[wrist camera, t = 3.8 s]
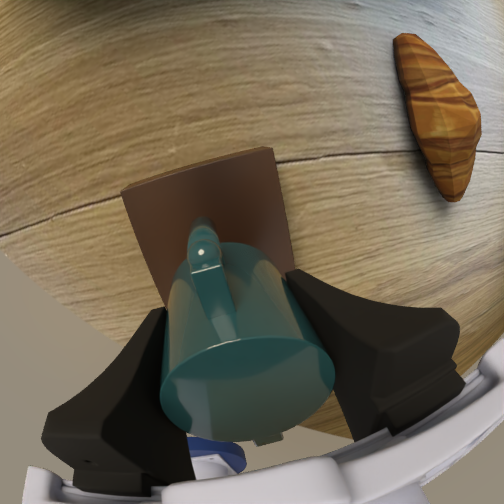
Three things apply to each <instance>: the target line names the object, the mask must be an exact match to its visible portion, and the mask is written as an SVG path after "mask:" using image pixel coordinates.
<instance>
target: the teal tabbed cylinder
mask: <svg viewBox="0 0 504 504" xmlns="http://www.w3.org/2000/svg"><path fill="white" fill-rule="evenodd" d="M335 377H336V372H335V366H334V363H333V361H332V359H331V357H330V355H329V354H328V352H327V350H326V348H325V347H324V345H323V343H322V342H321V340H320V338H319V336H318V335H317V333H316V331H315V330H314V328H313V326H312V325H311V323H310V321H309V319H308V318H307V316H306V314H305V313H304V311H303V309H302V308H301V306H300V304H299V302H298V301H297V299H296V297H295V296H294V294H293V292H292V291H291V289H290V287H289V286H288V284H287V282H286V281H285V279H284V277H283V276H282V274H281V272H280V270H279V269H278V267H277V266H276V264H275V263H274V261H273V260H272V259H271V258H270V257H269V256H268V255H266V254H265V253H264V252H262V251H261V250H259V249H257V248H255V247H252V246H250V245H246V244H242V243H236V242H225V243H220V241H219V237H218V232H217V228H216V225H215V223H214V221H213V220H212V219H210V218H208V217H204V216H201V217H198V218H196V219H194V220H193V221H192V222H191V224H190V226H189V234H188V246H187V258H186V259H185V260H184V261H183V262H182V263H181V265H180V266H179V267H178V269H177V270H176V272H175V274H174V276H173V278H172V282H171V285H170V293H169V300H168V308H167V316H166V325H165V334H164V344H163V354H162V366H161V380H160V404H161V407H162V409H163V411H164V413H165V415H166V416H167V418H168V419H169V420H170V421H171V422H172V423H173V424H174V425H176V426H177V427H178V428H180V429H181V430H183V431H185V432H187V433H189V434H191V435H194V436H197V437H200V438H203V439H208V440H213V441H221V442H241V441H251V440H253V442H254V443H255V445H256V446H262V445H266V444H270V443H274V442H277V441H281V440H283V435H282V432H284V431H286V430H289V429H291V428H293V427H295V426H296V425H298V424H300V423H302V422H303V421H305V420H306V419H308V418H309V417H310V416H312V415H313V414H314V413H315V412H316V411H317V410H318V409H319V408H320V407H321V406H322V405H323V404H324V403H325V402H326V400H327V399H328V397H329V396H330V394H331V392H332V390H333V387H334V384H335Z"/></svg>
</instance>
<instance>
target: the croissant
mask: <svg viewBox="0 0 504 504" xmlns="http://www.w3.org/2000/svg"><path fill="white" fill-rule="evenodd" d="M393 47H394V58H395V62H396V67H397V72H398V77H399V82H400V84H401V86H402V88H403V90H404V92H405V99H406V107H407V111H408V117H409V122H410V127H411V130H412V132H413V134H414V136H415V138H416V141H417V143H418V145H419V147H420V149H421V151H422V153H423V154H424V156H425V159H426V164H427V169H428V171H429V173H430V175H431V177H432V179H433V181H434V184H435V186H436V187H437V189H438V190H439V192H440V194H441V195H442V197H443V198H444V199H445V200H446V201H448V202H457V201H460V199H461V198H462V197H463V195H464V193H465V191H466V188H467V186H468V184H469V182H470V178H471V174H472V170H473V165H474V161H475V154H476V146H477V144H478V142H479V139H480V137H481V135H482V133H481V114H480V111H479V109H478V107H477V105H476V102H475V100H474V98H473V96H472V94H471V92H470V91H469V90H467V89H466V88H465V87H464V86H463V85H462V84H461V83H460V82H459V81H458V79H457V77H456V76H455V75H454V73H453V72H452V70H451V69H450V68H449V67H448V65H447V64H446V63H445V62H444V61H443V59H442V58H441V57H440V56H439V55H438V54H437V53H436V51H435V50H434V49H433V48H432V47H430V46H429V45H428V44H427V43H426V42H424V41H423V40H422V39H421V38H420V37H418V36H417V35H416V34H410V33H401V34H400V35H398V36H397V37H396V38H394V39H393Z"/></svg>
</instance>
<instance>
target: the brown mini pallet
mask: <svg viewBox="0 0 504 504" xmlns="http://www.w3.org/2000/svg"><path fill="white" fill-rule="evenodd" d="M120 192H121V195H122V199H123V202H124V204H125V207H126V210H127V213H128V216H129V219H130V222H131V224H132V227H133V230H134V233H135V235H136V238H137V240H138V243H139V246H140V248H141V251H142V253H143V256H144V258H145V261H146V263H147V266H148V268H149V270H150V273H151V275H152V278H153V280H154V282H155V284H156V287H157V289H158V291H159V294H160V296H161V298H162V300H163V302H164V305H165V307H166V309H167V308H168V300H169V293H170V285H171V282H172V278H173V276H174V274H175V272H176V270H177V269H178V267H179V266H180V265H181V263H182V262H183V261H184V260H185V259H186V258H187V246H188V234H189V226H190V224H191V222H192V221H193V220H194V219H196V218H198V217H201V216H204V217H208V218H210V219H212V220H213V221H214V223H215V225H216V228H217V232H218V237H219V241H220V243H225V242H236V243H242V244H246V245H250V246H252V247H255V248H257V249H259V250H261V251H262V252H264V253H265V254H266V255H268V256H269V257H270V258H271V259H272V260H273V261H274V263H275V264H276V266H277V267H278V269H279V270H280V272H281V274H282V276H283V277H284V279H285V281H286V277H285V273H286V272H289V271H292V270H295V264H294V258H293V253H292V247H291V241H290V235H289V230H288V224H287V219H286V213H285V208H284V203H283V197H282V192H281V187H280V182H279V177H278V172H277V167H276V162H275V157H274V153H273V148H270V147H258V148H254V149H249V150H245V151H241V152H237V153H232V154H228V155H224V156H221V157H217V158H213V159H209V160H206V161H202V162H198V163H195V164H191V165H188V166H185V167H181V168H178V169H175V170H171V171H168V172H165V173H162V174H159V175H156V176H153V177H150V178H147V179H144V180H141V181H138V182H135V183H132V184H130V185H128V186H127V187H126V188H124V189H123V190H121V191H120Z"/></svg>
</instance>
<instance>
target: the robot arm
mask: <svg viewBox="0 0 504 504" xmlns="http://www.w3.org/2000/svg"><path fill="white" fill-rule="evenodd" d="M285 277H286V282H287V284H288V286H289V287H290V289H291V291H292V292H293V294H294V296H295V297H296V299H297V301H298V302H299V304H300V306H301V308H302V309H303V311H304V313H305V314H306V316H307V318H308V319H309V321H310V323H311V325H312V326H313V328H314V330H315V331H316V333H317V335H318V336H319V338H320V340H321V342H322V343H323V345H324V347H325V348H326V350H327V352H328V354H329V355H330V357H331V359H332V361H333V363H334V366H335V372H336V377H335V384H334V387H333V390H334V392H335V395H336V397H337V399H338V402H339V404H340V406H341V409H342V411H343V414H344V416H345V419H346V421H347V424H348V426H349V429H350V432H351V434H352V437H353V440H354V443H352V444H350V445H347V446H345V447H343V448H340V449H338V450H335V451H332V452H330V453H327V454H324V455H322V456H317V457H307V458H303V459H299V460H294V461H290V462H286V463H282V464H279V465H275V466H271V467H268V468H263V469H259V470H254V471H250V472H245V473H240V474H237V472H236V471H235V470H234V469H233V468H232V467H231V466H230V465H229V464H228V463H227V462H226V461H225V460H224V459H223V458H222V457H221V455H219V454H211V455H205V456H198V457H191V456H190V451H189V446H188V441H187V435H186V432H185V431H183V430H181V429H180V428H178V427H177V426H176V425H174V424H173V423H172V422H171V421H170V420H169V419H168V418H167V416H166V415H165V413H164V411H163V409H162V407H161V404H160V380H161V366H162V354H163V344H164V334H165V325H166V316H167V310H166V308H165V306H164V307H161V308H157V309H153V310H151V311H150V313H149V314H148V315H147V317H146V318H145V319H144V321H143V322H142V324H141V325H140V327H139V328H138V329H137V331H136V332H135V334H134V335H133V336H132V338H131V339H130V341H129V342H128V343H127V344H126V346H125V347H124V348H123V350H122V351H121V353H120V354H119V355H118V356H117V357H116V359H115V360H114V361H113V362H112V363H111V364H110V365H109V366H108V367H107V368H106V369H105V371H104V372H103V373H102V374H101V375H99V376H98V377H97V378H96V379H95V380H94V381H93V382H92V383H91V384H90V385H88V387H86V388H85V389H84V390H82V391H81V392H80V393H79V394H77V395H76V396H74V397H73V398H72V399H70V400H69V401H67V402H66V403H64V404H62V405H61V406H59V407H57V408H56V409H54V410H52V411H50V412H49V413H48V416H47V419H46V422H45V426H44V429H43V433H42V437H41V440H42V443H43V444H44V446H45V447H46V448H47V449H48V450H49V451H50V452H51V453H52V454H54V455H55V456H56V457H58V458H59V459H60V460H62V461H63V462H65V463H66V464H68V465H69V466H70V467H72V468H73V469H74V475H73V481H72V480H66V479H62V478H61V477H60V476H58V475H57V474H55V473H53V472H52V471H49V470H47V469H44V468H39V467H35V466H31V465H30V466H29V467H28V471H27V476H26V481H25V487H24V492H23V499H22V504H430V503H429V501H428V499H427V497H426V495H425V494H424V492H423V490H422V488H421V487H422V486H424V485H425V484H427V483H428V482H430V481H431V480H433V479H434V478H436V477H437V476H439V475H440V474H441V473H443V472H444V471H445V470H447V469H448V468H450V467H451V466H452V465H453V464H455V463H456V462H457V461H459V460H460V459H461V458H462V457H464V456H465V455H466V454H467V453H468V452H470V451H471V450H472V449H473V448H474V447H475V446H477V445H478V444H479V443H480V442H481V441H482V440H483V439H484V438H485V437H487V436H488V435H489V434H490V433H491V432H492V431H493V430H494V429H495V428H496V427H497V426H498V425H499V424H500V423H501V422H502V421H503V420H504V338H501V339H499V340H498V341H497V342H496V343H495V344H494V345H493V346H492V347H490V348H489V349H488V350H487V351H486V352H485V354H484V355H483V356H482V358H481V360H480V362H479V364H478V368H477V369H475V370H474V371H473V372H472V373H470V374H469V375H468V376H467V377H465V378H464V379H462V378H461V376H460V375H459V374H458V373H457V372H456V371H455V370H454V369H456V367H457V365H456V363H455V362H454V361H453V360H452V359H451V358H452V355H453V353H454V350H455V347H456V345H457V342H458V338H459V334H460V326H459V324H458V322H457V321H456V320H455V319H454V318H452V317H451V316H450V315H449V314H448V313H447V312H446V311H444V310H443V309H442V308H416V307H405V306H397V305H391V304H386V303H381V302H376V301H372V300H368V299H365V298H362V297H358V296H355V295H352V294H350V293H347V292H345V291H342V290H340V289H337V288H335V287H333V286H331V285H329V284H327V283H325V282H323V281H321V280H319V279H317V278H315V277H313V276H311V275H310V274H308V273H306V272H304V271H302V270H300V269H295V270H292V271H289V272H286V273H285Z"/></svg>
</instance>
